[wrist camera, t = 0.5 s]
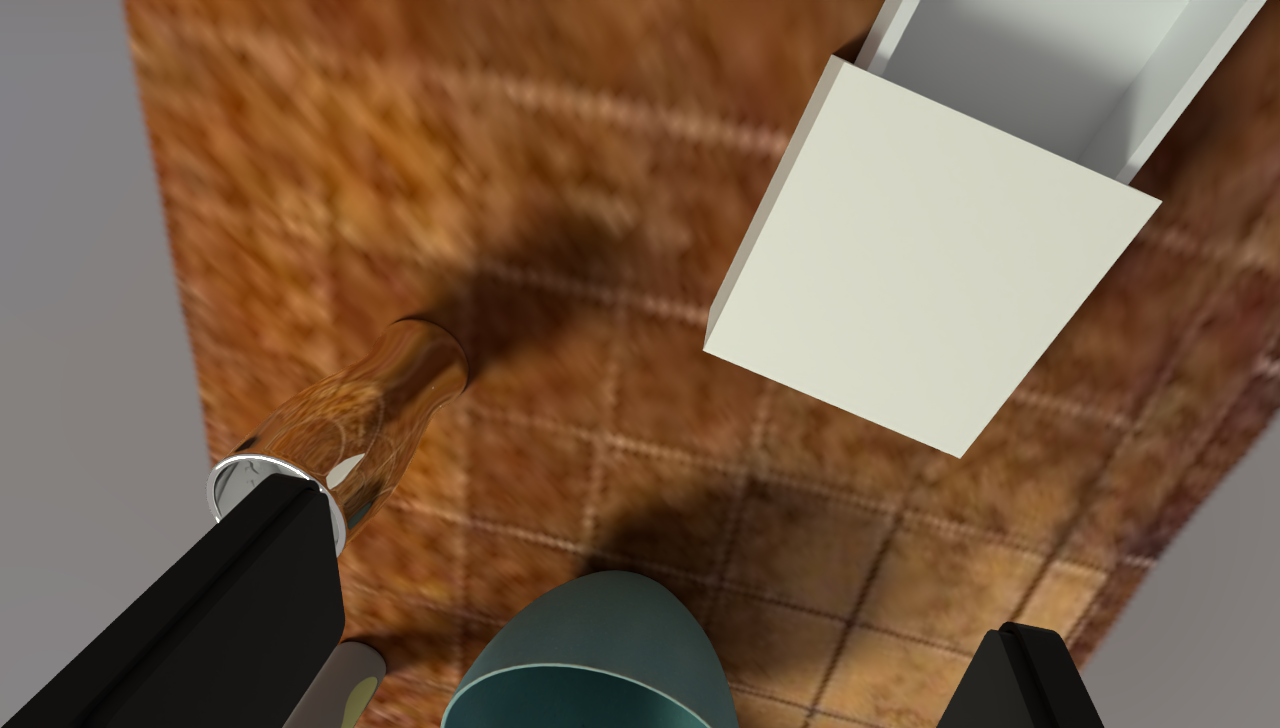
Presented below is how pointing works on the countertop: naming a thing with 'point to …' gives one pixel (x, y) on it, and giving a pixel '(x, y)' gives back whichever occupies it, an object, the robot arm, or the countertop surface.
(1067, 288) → the sleeve
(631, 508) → the countertop surface
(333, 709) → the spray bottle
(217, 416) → the countertop surface
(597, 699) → the teal bowl
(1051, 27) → the white sliding drawer box
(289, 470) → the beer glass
